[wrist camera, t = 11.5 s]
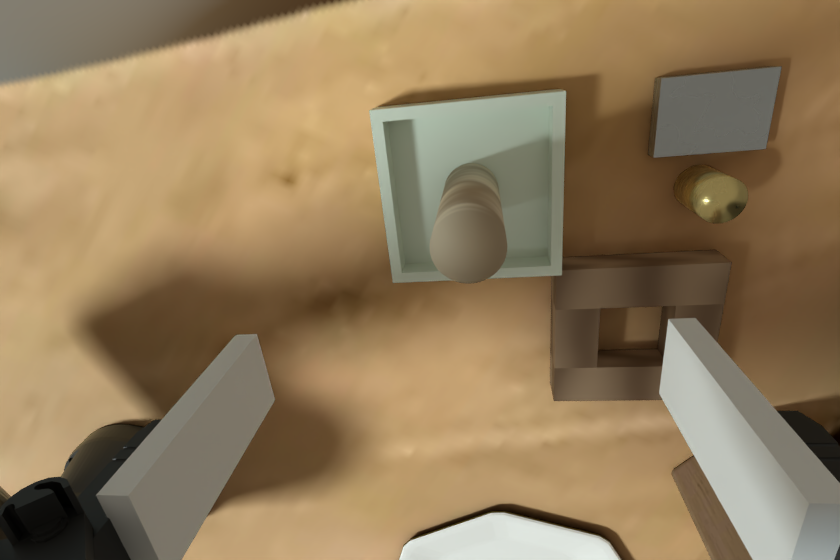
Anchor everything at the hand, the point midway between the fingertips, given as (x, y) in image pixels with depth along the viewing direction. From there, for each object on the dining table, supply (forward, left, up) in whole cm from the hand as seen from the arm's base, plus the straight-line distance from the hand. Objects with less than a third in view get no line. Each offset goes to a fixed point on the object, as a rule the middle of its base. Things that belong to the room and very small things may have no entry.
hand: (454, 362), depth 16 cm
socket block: (+12, -12, -23) cm, 28 cm away
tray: (0, 0, -23) cm, 23 cm away
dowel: (0, 0, -22) cm, 22 cm away
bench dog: (+16, -1, -23) cm, 28 cm away
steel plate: (+16, +4, -23) cm, 28 cm away
